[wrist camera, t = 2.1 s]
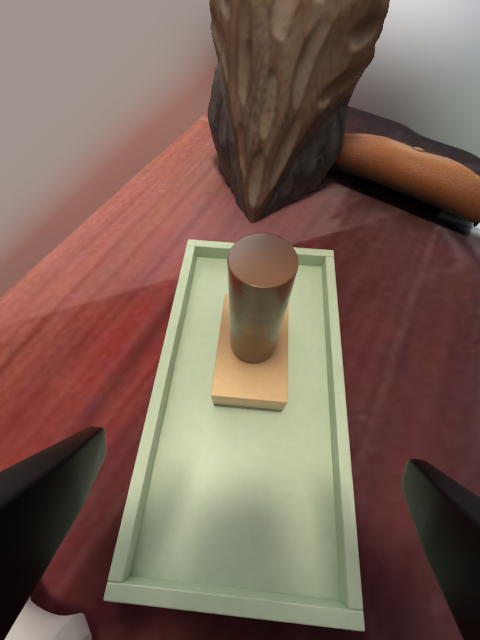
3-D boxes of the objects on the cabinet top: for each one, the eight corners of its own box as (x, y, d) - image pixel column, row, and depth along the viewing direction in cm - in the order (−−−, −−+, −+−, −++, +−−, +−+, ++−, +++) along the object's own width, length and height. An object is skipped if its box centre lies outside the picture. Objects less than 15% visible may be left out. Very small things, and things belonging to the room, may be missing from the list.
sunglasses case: (487, 189, 34) (529, 151, 28) (456, 242, 34) (490, 216, 28) (344, 138, 39) (350, 95, 32) (316, 185, 39) (318, 151, 33)
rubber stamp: (281, 412, 22) (323, 345, 11) (213, 406, 22) (192, 333, 11) (283, 317, 26) (316, 201, 15) (225, 313, 26) (218, 194, 15)
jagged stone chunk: (208, 158, 37) (179, -129, 20) (297, 136, 40) (342, -139, 22) (246, 224, 32) (253, -93, 14) (348, 195, 34) (462, -112, 16)
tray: (351, 616, 17) (365, 632, 15) (116, 588, 17) (102, 601, 15) (327, 264, 29) (333, 250, 27) (191, 254, 30) (188, 239, 28)
